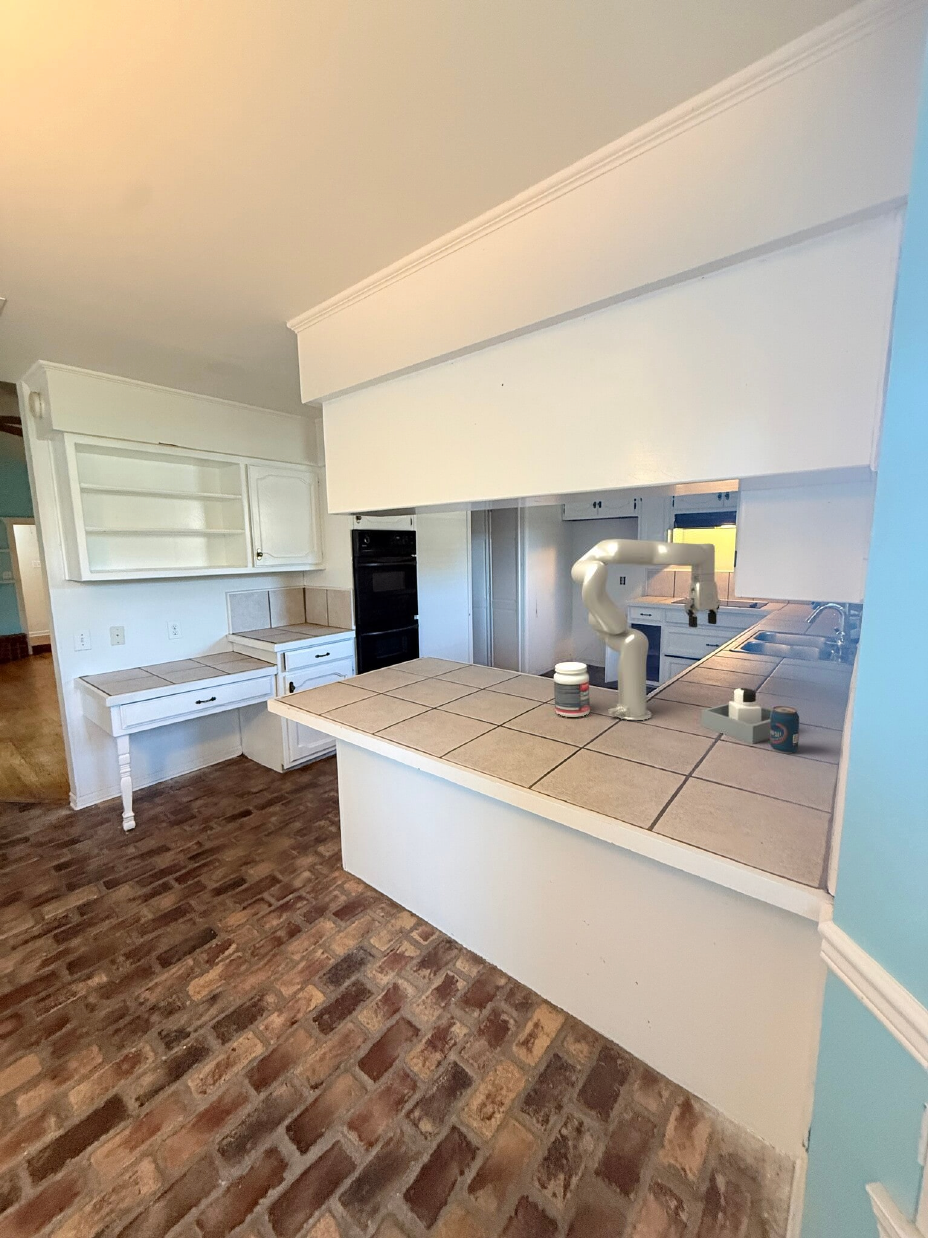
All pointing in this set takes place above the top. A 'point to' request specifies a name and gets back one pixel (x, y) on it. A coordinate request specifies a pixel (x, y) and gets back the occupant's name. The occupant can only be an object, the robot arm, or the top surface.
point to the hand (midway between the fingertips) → (702, 625)
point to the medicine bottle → (745, 706)
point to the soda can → (784, 729)
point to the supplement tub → (571, 689)
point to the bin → (737, 724)
